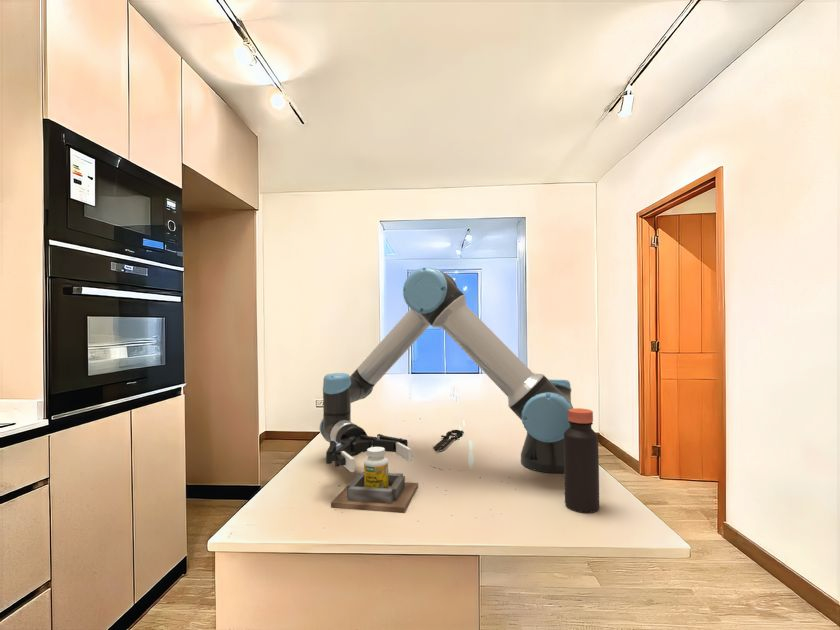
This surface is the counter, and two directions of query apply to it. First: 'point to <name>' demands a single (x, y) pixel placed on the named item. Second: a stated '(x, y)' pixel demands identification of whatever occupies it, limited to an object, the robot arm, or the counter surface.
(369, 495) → the collar board
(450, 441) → the knife
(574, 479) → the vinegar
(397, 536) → the counter surface
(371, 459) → the supplement bottle
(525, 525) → the counter surface
